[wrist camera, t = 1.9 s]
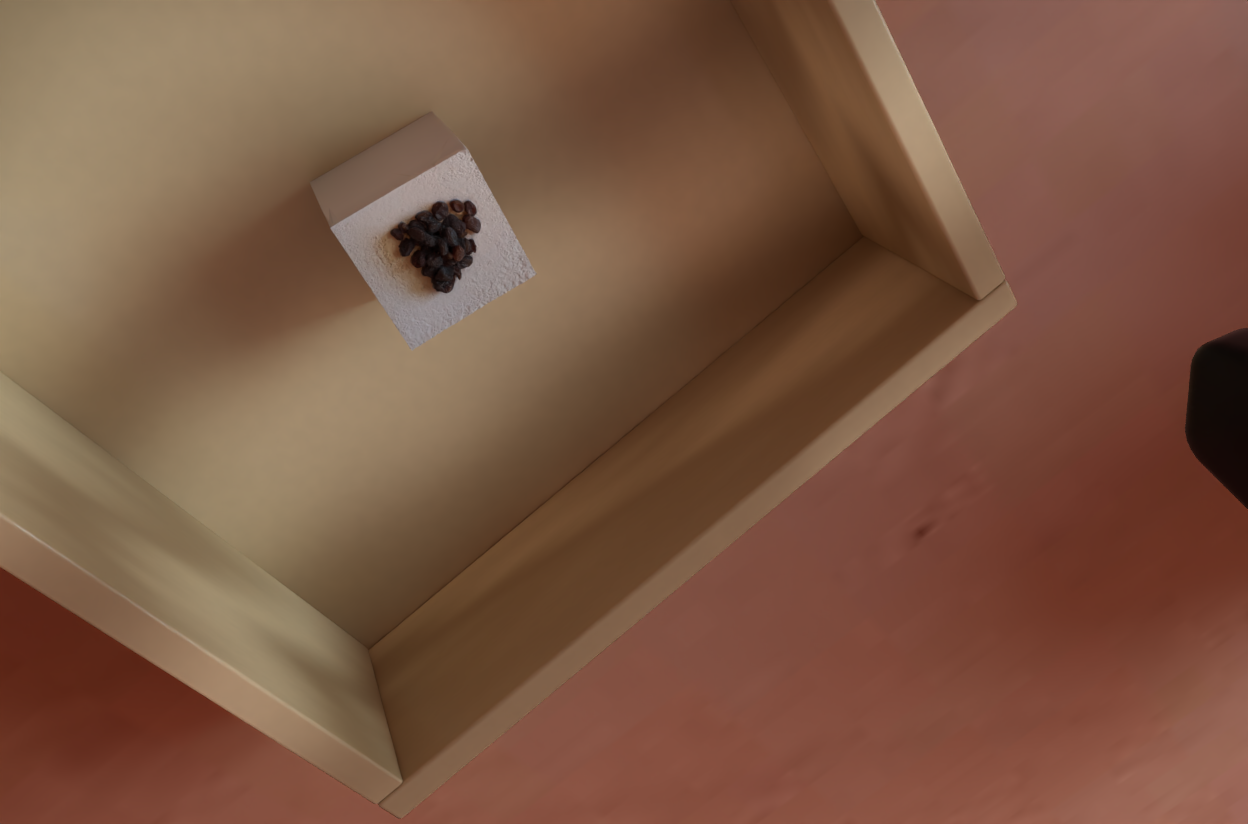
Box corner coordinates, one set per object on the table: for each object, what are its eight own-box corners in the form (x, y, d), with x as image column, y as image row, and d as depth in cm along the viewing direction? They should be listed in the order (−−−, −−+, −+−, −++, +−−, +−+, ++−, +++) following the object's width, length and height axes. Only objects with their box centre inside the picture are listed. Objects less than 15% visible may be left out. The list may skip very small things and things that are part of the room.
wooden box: (889, 234, 21) (1020, 305, 18) (362, 673, 21) (400, 821, 18) (467, -548, 13) (564, -667, 10) (-354, 148, 13) (-511, 246, 10)
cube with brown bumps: (307, 182, 16) (331, 232, 14) (430, 110, 16) (472, 148, 14) (383, 297, 17) (415, 358, 15) (497, 227, 17) (544, 279, 15)
